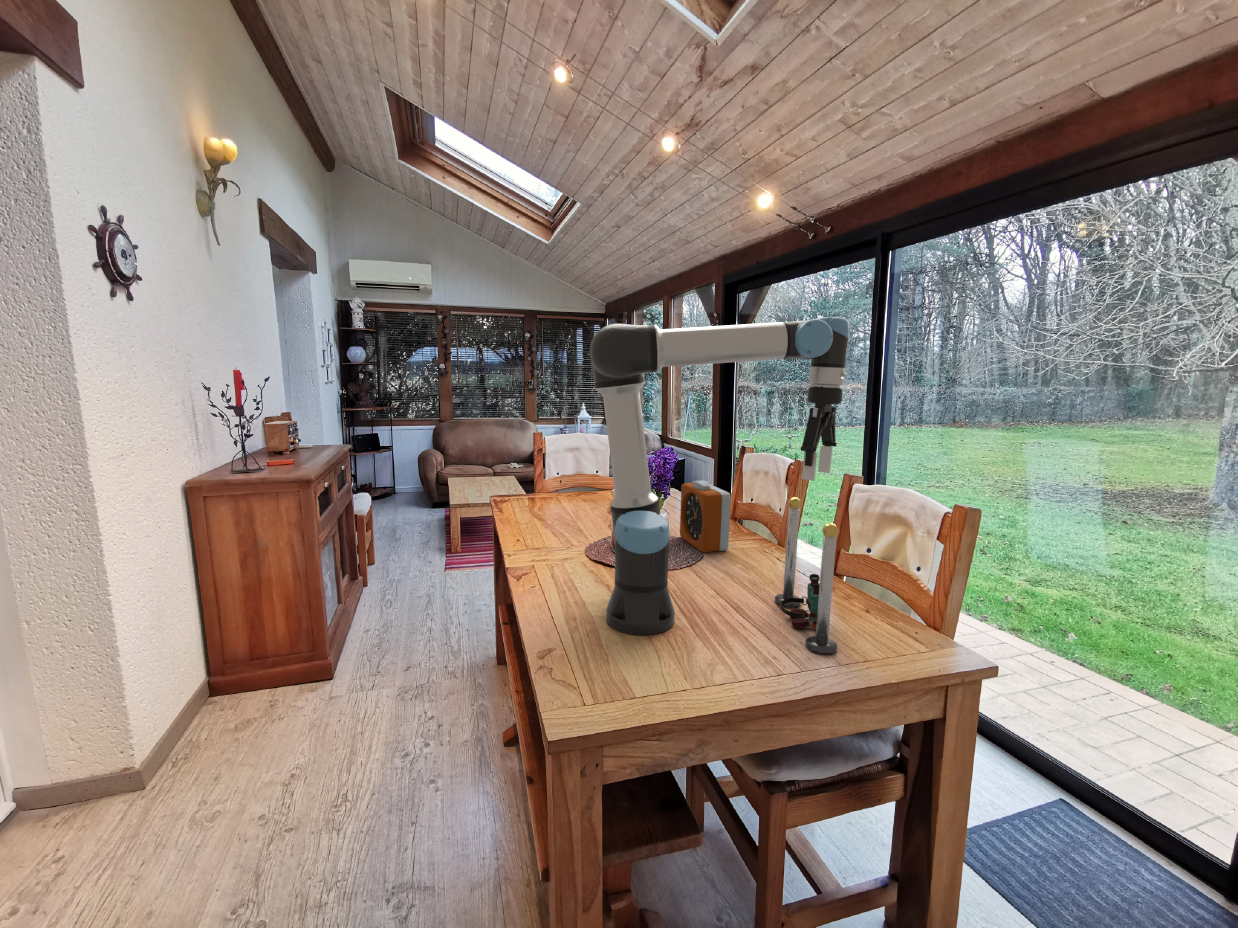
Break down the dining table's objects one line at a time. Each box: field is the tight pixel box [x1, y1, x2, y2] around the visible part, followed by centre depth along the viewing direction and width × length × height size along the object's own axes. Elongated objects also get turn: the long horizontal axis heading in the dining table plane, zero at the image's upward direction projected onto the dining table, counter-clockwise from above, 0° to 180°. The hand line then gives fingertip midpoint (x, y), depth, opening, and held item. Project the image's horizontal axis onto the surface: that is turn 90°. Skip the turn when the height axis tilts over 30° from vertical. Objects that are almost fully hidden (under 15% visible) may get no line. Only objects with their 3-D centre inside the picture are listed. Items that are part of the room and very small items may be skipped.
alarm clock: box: [679, 480, 732, 553], centre depth 178 cm, size 18×9×21 cm, turn 17°
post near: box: [804, 522, 840, 656], centre depth 112 cm, size 6×6×26 cm
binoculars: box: [780, 573, 820, 630], centre depth 124 cm, size 9×11×10 cm
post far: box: [774, 496, 802, 609], centre depth 133 cm, size 6×6×26 cm
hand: (816, 476), depth 135 cm, fingers open, 13 cm apart
